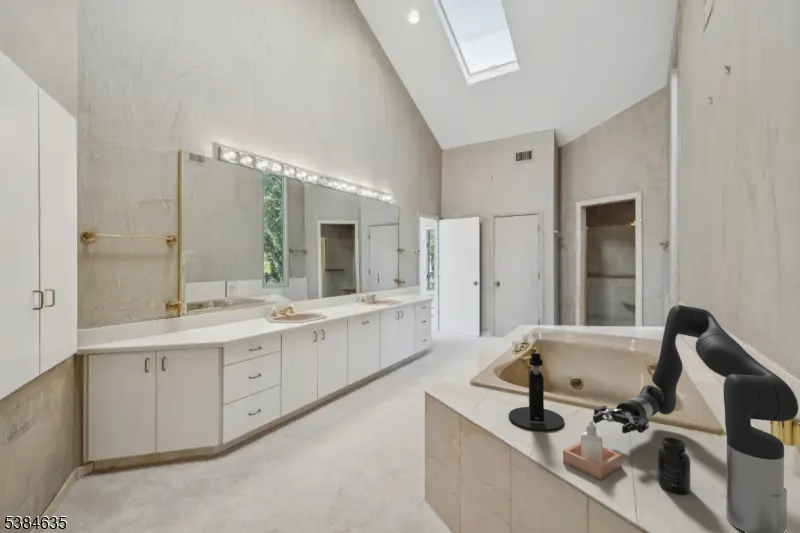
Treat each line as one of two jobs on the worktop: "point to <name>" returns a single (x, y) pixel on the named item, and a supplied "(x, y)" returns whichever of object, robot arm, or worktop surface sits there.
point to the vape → (536, 404)
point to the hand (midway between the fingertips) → (608, 424)
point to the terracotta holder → (596, 470)
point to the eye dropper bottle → (592, 444)
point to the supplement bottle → (674, 466)
